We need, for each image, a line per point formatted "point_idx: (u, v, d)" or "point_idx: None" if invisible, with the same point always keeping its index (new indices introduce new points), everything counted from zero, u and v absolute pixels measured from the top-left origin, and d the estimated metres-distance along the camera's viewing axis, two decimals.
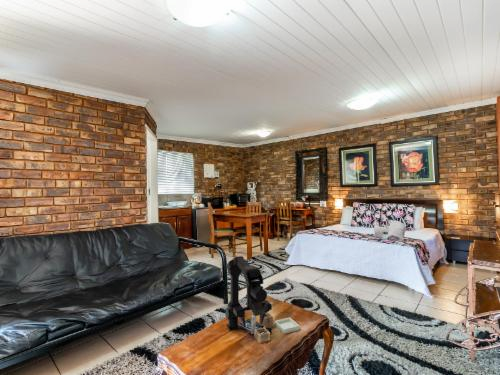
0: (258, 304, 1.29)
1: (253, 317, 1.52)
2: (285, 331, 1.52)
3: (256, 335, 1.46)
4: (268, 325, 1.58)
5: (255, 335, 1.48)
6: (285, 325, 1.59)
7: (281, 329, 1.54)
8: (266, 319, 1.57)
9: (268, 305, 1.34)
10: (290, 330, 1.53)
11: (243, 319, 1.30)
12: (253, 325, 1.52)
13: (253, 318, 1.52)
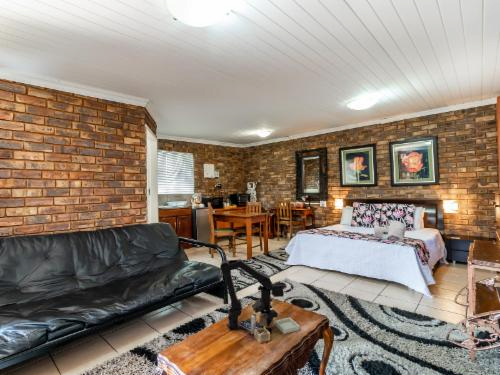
0: (258, 304, 1.58)
1: (253, 317, 1.52)
2: (285, 331, 1.52)
3: (256, 335, 1.46)
4: None
5: (255, 335, 1.48)
6: (285, 325, 1.59)
7: (281, 329, 1.54)
8: (266, 319, 1.57)
9: (267, 313, 1.53)
10: (290, 330, 1.53)
11: (260, 312, 1.64)
12: (253, 325, 1.52)
13: (253, 318, 1.52)
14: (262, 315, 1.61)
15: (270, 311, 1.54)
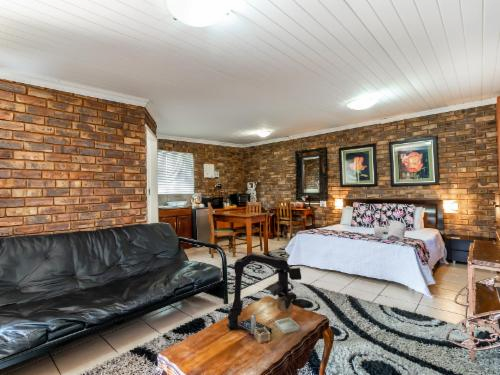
0: (276, 287, 1.56)
1: (253, 317, 1.52)
2: (285, 331, 1.52)
3: (256, 335, 1.46)
4: None
5: (255, 335, 1.48)
6: (285, 325, 1.59)
7: (281, 329, 1.54)
8: (284, 302, 1.55)
9: (286, 295, 1.51)
10: (290, 330, 1.53)
11: (278, 296, 1.62)
12: (253, 325, 1.52)
13: (253, 318, 1.52)
14: (280, 298, 1.59)
15: (289, 293, 1.52)
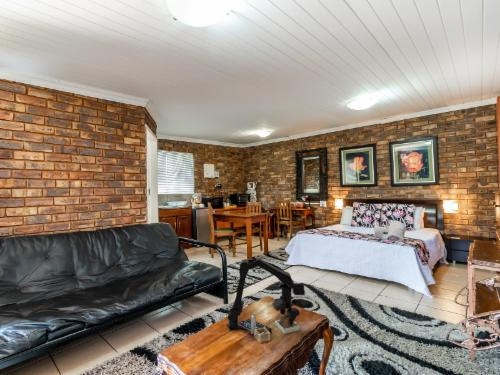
0: (279, 302, 1.55)
1: (253, 317, 1.52)
2: (285, 331, 1.52)
3: (256, 335, 1.46)
4: (289, 326, 1.56)
5: (255, 335, 1.48)
6: None
7: (281, 329, 1.54)
8: (287, 320, 1.55)
9: (289, 311, 1.50)
10: (290, 330, 1.53)
11: (279, 309, 1.63)
12: (253, 325, 1.52)
13: (253, 318, 1.52)
14: (283, 316, 1.58)
15: (292, 309, 1.51)
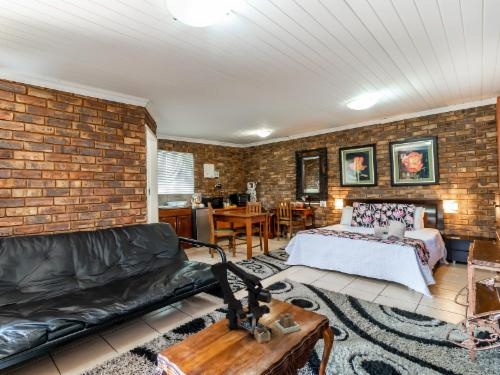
0: (258, 308, 1.48)
1: (253, 317, 1.52)
2: (285, 331, 1.52)
3: (256, 335, 1.46)
4: (289, 326, 1.56)
5: (255, 335, 1.48)
6: None
7: (281, 329, 1.54)
8: (287, 320, 1.55)
9: (267, 309, 1.53)
10: (290, 330, 1.53)
11: (250, 320, 1.51)
12: (253, 325, 1.52)
13: (253, 318, 1.52)
14: (283, 316, 1.58)
15: (264, 307, 1.55)
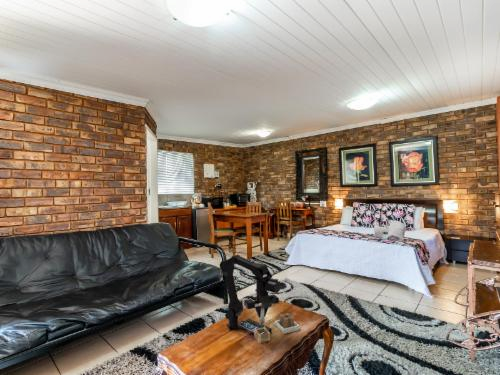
0: (267, 297, 1.43)
1: (262, 307, 1.46)
2: (285, 331, 1.52)
3: (256, 335, 1.46)
4: (289, 326, 1.56)
5: (255, 335, 1.48)
6: None
7: (281, 329, 1.54)
8: (287, 320, 1.55)
9: (276, 299, 1.48)
10: (290, 330, 1.53)
11: (258, 310, 1.45)
12: (262, 315, 1.46)
13: (262, 308, 1.46)
14: (283, 316, 1.58)
15: (273, 296, 1.49)
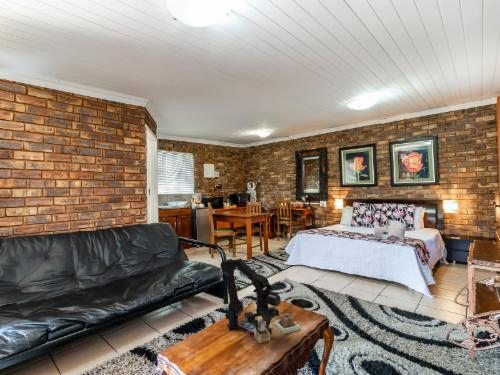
0: (267, 311, 1.43)
1: (262, 322, 1.46)
2: (285, 331, 1.52)
3: (256, 335, 1.46)
4: (289, 326, 1.56)
5: (255, 335, 1.48)
6: None
7: (281, 329, 1.54)
8: (287, 320, 1.55)
9: (276, 311, 1.48)
10: (290, 330, 1.53)
11: (256, 324, 1.44)
12: (262, 330, 1.46)
13: (262, 323, 1.46)
14: (283, 316, 1.58)
15: (273, 309, 1.49)
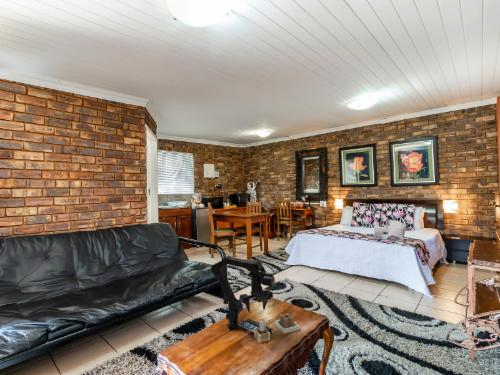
0: (261, 292, 1.49)
1: (262, 322, 1.46)
2: (285, 331, 1.52)
3: (256, 335, 1.46)
4: (289, 326, 1.56)
5: (255, 335, 1.48)
6: None
7: (281, 329, 1.54)
8: (287, 320, 1.55)
9: (270, 293, 1.54)
10: (290, 330, 1.53)
11: (248, 305, 1.50)
12: (262, 330, 1.46)
13: (262, 323, 1.46)
14: (283, 316, 1.58)
15: (267, 291, 1.56)
